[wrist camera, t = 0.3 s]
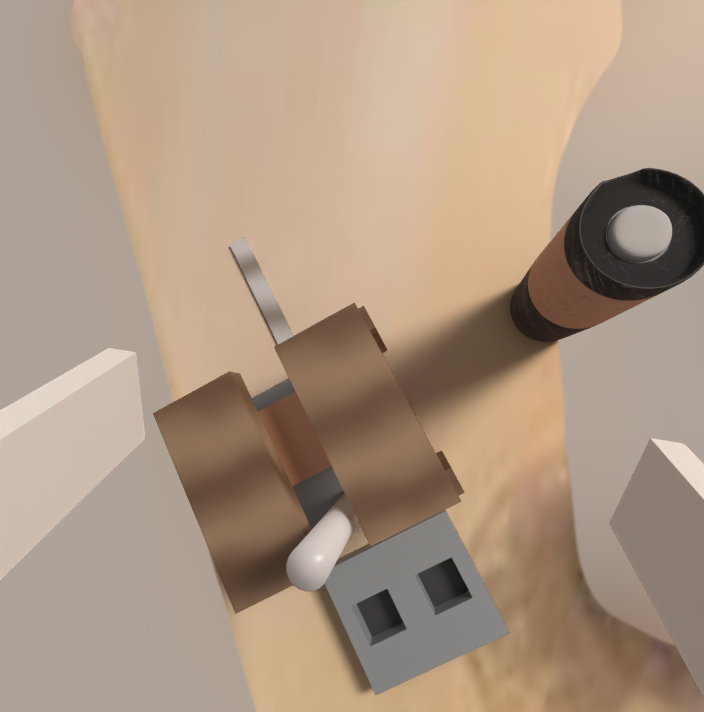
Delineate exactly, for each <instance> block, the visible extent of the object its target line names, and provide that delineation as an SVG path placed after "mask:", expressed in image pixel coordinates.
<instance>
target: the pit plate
mask: <svg viewBox="0 0 704 712" xmlns="http://www.w3.org/2000/svg"><path fill="white" fill-rule="evenodd" d="M324 584H325V586H326V588H327V590H328V592H329V595H330V597H331V599H332V601H333V603H334V606H335V608H336V610H337V612H338V614H339V616H340V619H341V621H342V623H343V625H344V627H345V630H346V632H347V634H348V636H349V638H350V641H351V643H352V645H353V647H354V649H355V652H356V654H357V656H358V658H359V660H360V662H361V665H362V667H363V669H364V671H365V673H366V676H367V678H368V680H369V682H370V684H371V687H372V689H373V691H374V693H375V695H378V694H380V693H382V692H384V691H386V690H388V689H390V688H393V687H395V686H397V685H399V684H401V683H403V682H405V681H408V680H410V679H412V678H414V677H416V676H418V675H420V674H423V673H425V672H427V671H429V670H431V669H433V668H435V667H438V666H440V665H442V664H444V663H446V662H448V661H451V660H453V659H455V658H457V657H459V656H461V655H463V654H466V653H468V652H470V651H472V650H474V649H476V648H478V647H481V646H483V645H485V644H487V643H489V642H491V641H493V640H496V639H498V638H500V637H502V636H504V635H506V634H508V633H509V631H508V629H507V626H506V624H505V622H504V620H503V618H502V616H501V614H500V612H499V610H498V608H497V606H496V604H495V603H494V601H493V599H492V597H491V595H490V593H489V591H488V589H487V587H486V585H485V584H484V582H483V580H482V578H481V576H480V574H479V572H478V570H477V568H476V567H475V565H474V563H473V561H472V559H471V557H470V555H469V553H468V551H467V549H466V548H465V546H464V544H463V542H462V540H461V538H460V536H459V534H458V532H457V530H456V529H455V527H454V525H453V523H452V521H451V519H450V517H449V515H448V513H447V511H446V510H443V511H441V512H439V513H437V514H435V515H433V516H431V517H429V518H427V519H425V520H423V521H421V522H419V523H417V524H415V525H413V526H411V527H409V528H407V529H405V530H403V531H401V532H399V533H397V534H395V535H393V536H391V537H389V538H387V539H385V540H383V541H381V542H379V543H377V544H375V545H373V546H370V544H368V545H366V546H364V547H362V548H360V549H358V550H356V551H354V552H352V553H350V554H348V555H346V556H344V557H342V558H340V559H338V560H337V562H336V563H335V565H334V567H333V569H332V571H331V573H330V575H329V576H328V578H327V580H326V582H325V583H324Z"/></svg>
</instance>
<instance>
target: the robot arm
mask: <svg viewBox="0 0 704 712" xmlns="http://www.w3.org/2000/svg"><path fill="white" fill-rule="evenodd" d="M144 439H145V430H144V421H143V412H142V402H141V393H140V385H139V375H138V366H137V356H136V352H130V351H124V350H118V349H112V348H108V349H106V350H105V351H103V352H101V353H99V354H98V355H96V356H94V357H93V358H91V359H89V360H87V361H86V362H84V363H82V364H80V365H79V366H77V367H75V368H73V369H72V370H70V371H68V372H66V373H65V374H63V375H61V376H59V377H58V378H56V379H54V380H52V381H51V382H49V383H47V384H45V385H44V386H42V387H40V388H38V389H37V390H35V391H33V392H31V393H30V394H28V395H26V396H24V397H23V398H21V399H19V400H17V401H16V402H14V403H12V404H10V405H9V406H7V407H5V408H3V409H2V410H0V580H1V579H2V578H3V577H4V576H5V575H6V574H7V573H8V572H9V571H10V570H11V569H12V568H13V567H14V566H15V565H16V564H17V563H18V562H19V561H20V560H21V559H22V558H23V557H24V556H25V555H26V554H27V553H28V552H29V551H30V550H31V549H32V548H33V547H34V546H36V545H37V544H38V542H40V541H41V540H42V539H43V538H44V537H45V536H46V535H47V534H48V533H49V532H50V531H51V530H52V529H53V528H54V527H55V526H56V525H57V524H58V523H59V522H60V521H61V520H62V519H63V518H64V517H65V516H66V515H67V514H68V513H69V512H70V511H71V510H72V509H73V508H74V507H75V506H76V505H77V504H78V503H79V502H80V501H81V500H82V499H84V498H85V497H86V496H87V495H88V494H89V493H90V492H91V491H92V490H93V489H94V488H95V487H96V486H97V485H98V484H99V483H100V482H101V481H102V480H103V479H104V478H105V477H106V476H107V475H108V474H109V473H110V472H111V471H112V470H113V469H114V468H115V467H116V466H117V465H118V464H119V463H120V462H121V461H122V460H123V459H124V458H125V457H126V456H127V455H129V454H130V453H131V452H132V451H133V450H134V449H135V448H136V447H137V446H138V445H139V444H140V443H141V442H142V441H143V440H144ZM610 526H611V528H612V529H613V531H614V533H615V535H616V537H617V539H618V540H619V542H620V544H621V546H622V548H623V550H624V551H625V553H626V555H627V557H628V559H629V561H630V562H631V564H632V566H633V568H634V570H635V572H636V573H637V575H638V577H639V579H640V581H641V583H642V585H643V586H644V588H645V590H646V592H647V594H648V596H649V598H650V599H651V601H652V603H653V605H654V607H655V608H656V610H657V612H658V614H659V616H660V618H661V620H662V622H663V623H664V625H665V627H666V629H667V631H668V633H669V634H670V636H671V638H672V640H673V642H674V644H675V645H676V647H677V649H678V651H679V653H680V655H681V657H682V658H683V660H684V662H685V664H686V666H687V668H688V669H689V671H690V673H691V675H692V677H693V679H694V680H695V682H696V684H697V686H698V688H699V690H700V691H701V693H702V695H703V697H704V464H703V463H702V462H701V461H700V460H699V459H698V458H697V457H696V456H695V455H694V454H693V453H692V452H691V451H690V450H689V449H688V447H687V446H686V445H685V444H683V443H677V442H670V441H665V440H658V439H653V438H650V440H649V442H648V444H647V446H646V448H645V450H644V452H643V455H642V457H641V459H640V461H639V463H638V465H637V467H636V469H635V471H634V474H633V475H632V477H631V479H630V481H629V483H628V486H627V488H626V490H625V492H624V494H623V496H622V498H621V500H620V502H619V504H618V507H617V508H616V511H615V513H614V515H613V517H612V519H611V521H610Z"/></svg>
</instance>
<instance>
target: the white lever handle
mask: <svg viewBox="0 0 704 712" xmlns="http://www.w3.org/2000/svg"><path fill="white" fill-rule="evenodd" d="M252 401H253V403H254V405H255V407H256V409H257V412H258V414H259V416H260V418H261V420H262V422H263V424H264V427H265V429H266V431H267V433H268V435H269V437H270V440H271V442H272V444H273V446H274V448H275V450H276V453H277V455H278V457H279V459H280V461H281V463H282V466H283V468H284V470H285V472H286V474H287V476H288V479H289V481H290V483H291V485H292V487H293V489H294V492H295V494H296V496H297V498H298V500H299V502H300V505H301V507H302V509H303V511H304V513H305V515H306V518H307V520H308V522H309V524H310V526H311V528H312V530H311V531H310V532H309V533H308V535H307V536H306V537H305V538H304V539H303V540H302V541H301V542H300V544H299V545H298V546H297V547H296V548H295V549H294V550H293V551H292V553H291V554H290V556H289V557H288V560H287V565H286V570H287V575H288V578H289V579H290V581H291V583H292V584H293V585H294V586H295V587H297V588H298V589H300V590H303V591H315V590H317V589H319V588H320V587H322V586H323V585H324V583H325V582H326V580H327V578H328V576H329V575H330V573H331V571H332V569H333V567H334V565H335V563H336V562H337V560H338V558H339V556H340V554H341V552H342V550H343V549H344V547H345V545H346V543H347V541H348V539H349V538H350V536H351V534H352V532H353V530H354V528H355V526H356V525H357V523H358V519H357V517H356V515H355V513H354V511H353V509H352V507H351V505H350V502H349V500H348V498H347V496H346V494H345V492H344V490H343V488H342V486H341V484H340V482H339V480H338V478H337V476H336V474H335V472H334V469H333V467H332V465H331V463H330V461H329V459H328V457H327V455H326V453H325V451H324V449H323V447H322V445H321V443H320V441H319V439H318V436H317V434H316V432H315V430H314V428H313V426H312V424H311V422H310V420H309V418H308V416H307V414H306V412H305V410H304V408H303V406H302V404H301V401H300V399H299V397H298V395H297V393H296V391H295V389H294V387H293V385H292V383H291V381H290V379H287V380H285V381H283V382H281V383H279V384H278V385H276V386H274V387H272V388H270V389H268V390H266V391H265V392H263V393H261V394H259V395H257V396H255V397H254V398H252Z"/></svg>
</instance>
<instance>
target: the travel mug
mask: <svg viewBox="0 0 704 712" xmlns="http://www.w3.org/2000/svg"><path fill="white" fill-rule="evenodd" d="M703 265H704V194H703V193H702V192H701V191H700V189H699V188H698V187H696V186H695V185H694V184H693V183H691V182H690V181H688V180H687V179H685V178H683V177H681V176H679V175H677V174H674V173H671V172H668V171H664V170H660V169H653V168H646V169H641V170H639V171H636V172H634V173H631V174H628V175H624V176H621V177H617V178H614V179H611V180H608V181H602V182H601V183H600V184H599V185H598V186H596V188H595V189H594V190H593V191H592V192H591V193H590V194H589V195H588V197H587V198H586V199H585V200H584V201H583V203H582V204H581V205H580V206H579V208H578V209H577V210H576V211H575V212H574V214H573V215H572V216H571V217H570V219H569V220H568V221H567V222H566V223H565V225H564V226H563V227H562V228H561V230H560V231H559V232H558V233H557V234H556V236H555V237H554V238H553V239H552V241H551V242H550V243H549V244H548V245H547V247H546V248H545V249H544V250H543V252H542V253H541V254H540V255H539V256H538V258H537V259H536V260H535V262H534V263H533V265H532V266H531V268H530V269H529V271H528V272H527V274H526V275H525V277H524V278H523V280H522V281H521V283H520V284H519V286H518V287H517V289H516V290H515V292H514V294H513V296H512V300H511V306H510V310H511V316H512V319H513V321H514V323H515V325H516V326H517V327H518V329H519V330H520V331H521V332H522V333H524V334H525V335H526V336H528V337H530V338H532V339H535V340H539V341H555V340H559V339H562V338H565V337H568V336H570V335H573V334H575V333H578V332H581V331H583V330H586V329H588V328H591V327H593V326H596V325H598V324H600V323H602V322H604V321H606V320H608V319H610V318H612V317H614V316H616V315H618V314H620V313H622V312H624V311H626V310H628V309H630V308H632V307H634V306H636V305H638V304H640V303H642V302H644V301H646V300H648V299H650V298H652V297H654V296H656V295H658V294H660V293H662V292H664V291H666V290H668V289H670V288H672V287H674V286H676V285H678V284H680V283H682V282H684V281H685V280H687V279H688V278H690V277H692V276H693V275H694V274H695V273H696V272H697V271H699V270H700V268H701V267H702V266H703Z"/></svg>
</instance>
